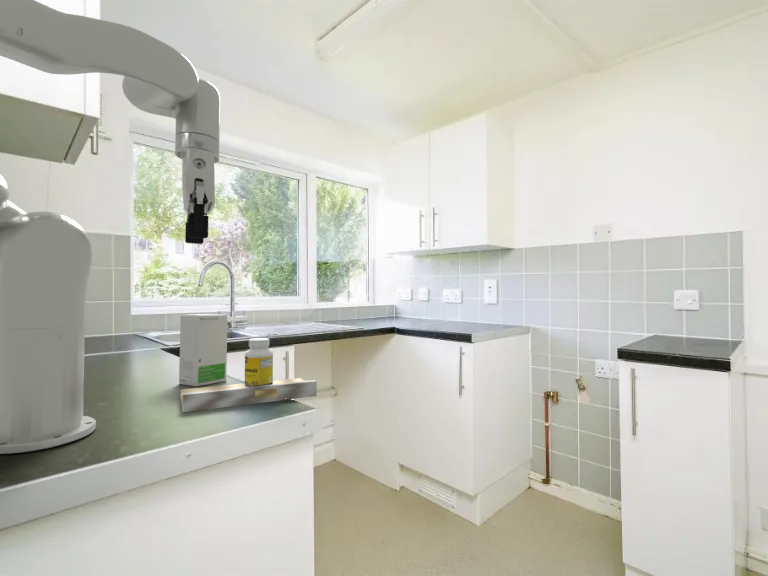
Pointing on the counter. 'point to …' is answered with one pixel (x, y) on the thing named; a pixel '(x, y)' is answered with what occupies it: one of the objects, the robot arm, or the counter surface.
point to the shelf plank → (245, 394)
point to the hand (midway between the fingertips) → (196, 240)
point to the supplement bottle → (258, 363)
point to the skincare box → (203, 349)
